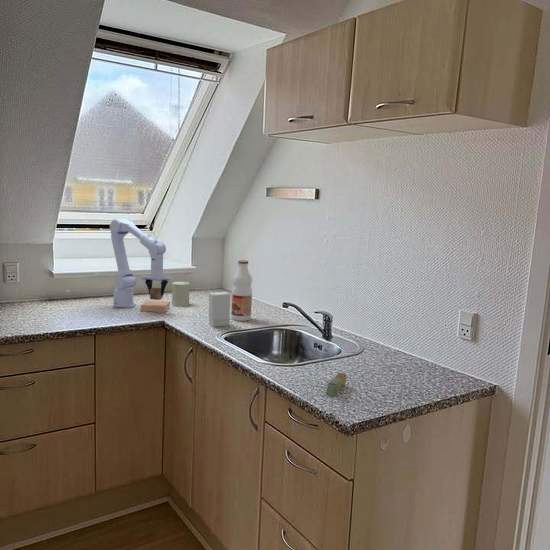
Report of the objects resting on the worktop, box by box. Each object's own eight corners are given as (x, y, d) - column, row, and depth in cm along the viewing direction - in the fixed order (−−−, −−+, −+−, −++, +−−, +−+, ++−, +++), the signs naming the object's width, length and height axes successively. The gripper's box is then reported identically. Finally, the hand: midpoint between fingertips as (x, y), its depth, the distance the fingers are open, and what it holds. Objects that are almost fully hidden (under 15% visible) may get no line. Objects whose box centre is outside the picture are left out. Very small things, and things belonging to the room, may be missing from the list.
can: (187, 306, 271) (188, 284, 269) (170, 305, 271) (170, 283, 269) (190, 303, 280) (191, 281, 278) (173, 302, 280) (174, 280, 278)
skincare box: (225, 323, 239) (226, 291, 237) (230, 326, 234) (231, 293, 232) (207, 324, 236) (208, 292, 234) (212, 327, 230) (213, 294, 228)
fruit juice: (252, 321, 245) (254, 262, 241) (232, 321, 243) (234, 261, 239) (249, 316, 254) (251, 259, 250) (230, 316, 253) (232, 259, 248)
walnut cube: (149, 299, 253) (150, 289, 252) (152, 297, 258) (152, 287, 257) (160, 299, 253) (160, 289, 252) (162, 297, 258) (162, 287, 257)
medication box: (335, 397, 155) (336, 384, 154) (326, 395, 156) (327, 383, 155) (345, 385, 166) (346, 373, 165) (337, 383, 167) (338, 371, 166)
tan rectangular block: (140, 311, 256) (140, 305, 255) (146, 306, 268) (146, 300, 267) (164, 312, 256) (164, 306, 255) (169, 307, 268) (169, 301, 267)
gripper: (139, 267, 249) (139, 295, 251) (170, 269, 249) (169, 297, 251) (143, 266, 256) (143, 293, 258) (173, 267, 256) (172, 294, 258)
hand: (156, 295), depth 255 cm, fingers closed on walnut cube, 5 cm apart
